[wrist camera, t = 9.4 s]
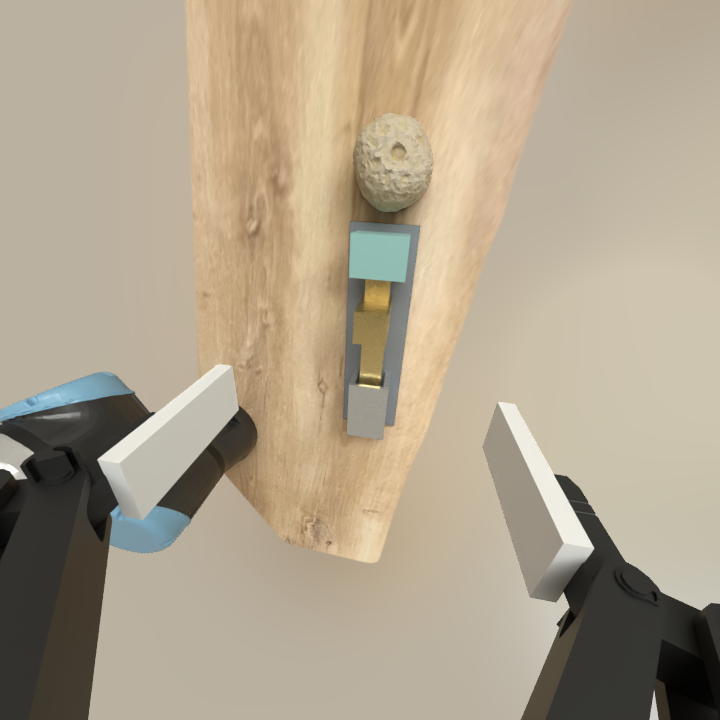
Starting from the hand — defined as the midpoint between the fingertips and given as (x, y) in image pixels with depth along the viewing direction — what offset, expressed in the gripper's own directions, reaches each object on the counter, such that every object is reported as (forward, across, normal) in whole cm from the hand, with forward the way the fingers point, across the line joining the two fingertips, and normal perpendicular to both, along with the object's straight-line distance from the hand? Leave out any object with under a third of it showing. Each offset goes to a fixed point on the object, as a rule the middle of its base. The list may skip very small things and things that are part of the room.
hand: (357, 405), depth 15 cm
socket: (+30, -2, +4) cm, 31 cm away
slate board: (+30, -1, -9) cm, 32 cm away
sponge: (+31, -1, +13) cm, 33 cm away
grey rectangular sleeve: (+30, -1, -19) cm, 36 cm away
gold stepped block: (+29, -1, -6) cm, 30 cm away
